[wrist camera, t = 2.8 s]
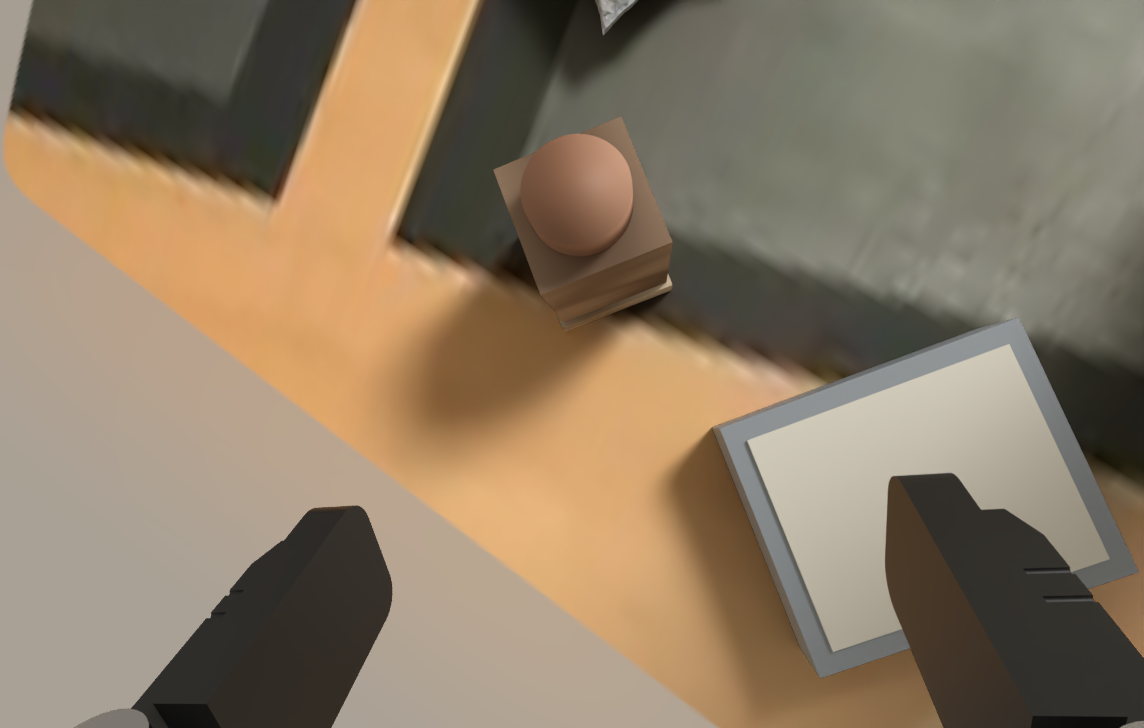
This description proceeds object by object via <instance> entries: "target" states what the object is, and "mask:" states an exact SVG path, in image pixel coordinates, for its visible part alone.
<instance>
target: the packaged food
mask: <svg viewBox="0 0 1144 728" xmlns="http://www.w3.org/2000/svg"><path fill="white" fill-rule="evenodd" d="M637 1H638V0H595V2H596V4H597V6H598V11H599V14H600V17H601V27H602V32H603V35H604V34H605V33H606V32H608V31H609V29H610V28H611V27H612V25H613V24H614V23H615V22H616V21H617V20H618V19H619V18H620V17H621V16H622V15H623V14H624V13H625V12H626V11H628V10H629V9H630V8H631V7H632V6H633V5H634V4H635V3H636V2H637Z"/></svg>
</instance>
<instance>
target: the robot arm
mask: <svg viewBox="0 0 1144 728" xmlns="http://www.w3.org/2000/svg"><path fill="white" fill-rule="evenodd" d="M885 572H886V580H887V586H888V591H889V595H890V598H891V602H892V605H893V608H894V610H895V613H896V615H897V618H898V620H899V622H900V625H901V627H902V629H903V632H904V634H905V637H906V639H907V641H908V644H909V646H910V649H911V651H912V653H913V656H914V658H915V660H916V663H917V665H918V668H919V670H920V672H921V675H922V677H923V680H924V682H925V684H926V687H927V689H928V691H929V694H930V696H931V699H932V701H933V703H934V706H935V708H936V710H937V713H938V715H939V718H940V720H941V722H942V725H943V727H944V728H1144V658H1143V657H1142V656H1141V654H1140V653H1139V652H1138V651H1137V649H1136V648H1135V647H1134V646H1133V644H1132V643H1131V642H1130V641H1129V639H1128V638H1127V637H1126V636H1125V634H1124V633H1123V632H1122V631H1121V630H1120V628H1119V627H1118V626H1117V625H1116V623H1115V622H1114V621H1113V620H1112V618H1111V617H1110V616H1109V615H1108V613H1107V612H1106V611H1105V610H1104V608H1103V607H1102V606H1101V605H1100V603H1099V602H1096V603H1095V602H1094V600H1093V595H1092V594H1091V592H1090V591H1089V590H1088V589H1087V587H1086V586H1085V585H1084V584H1083V582H1082V581H1081V580H1080V579H1079V577H1078V576H1077V575H1076V574H1072V573H1071V571H1070V566H1069V565H1068V564H1067V563H1066V561H1065V560H1064V559H1063V558H1062V556H1061V555H1060V554H1059V553H1058V551H1057V550H1056V549H1055V548H1054V546H1053V545H1052V544H1051V543H1050V542H1049V540H1048V539H1047V538H1046V537H1045V535H1044V534H1042V533H1041V532H1039V531H1038V530H1036V529H1035V528H1033V527H1032V526H1030V525H1029V524H1027V523H1026V522H1024V521H1022V520H1021V519H1019V518H1018V517H1016V516H1015V515H1013V514H1012V513H1010V512H1009V511H1007V510H1006V509H987V510H981V509H980V508H979V506H978V505H977V503H976V502H975V500H974V499H973V498H972V496H971V495H970V493H969V492H968V491H967V489H966V488H965V486H964V485H963V484H962V482H961V481H960V479H959V478H958V477H957V476H956V475H955V474H953V473H938V474H920V475H903V476H892V477H891V479H890V481H889V485H888V498H887V522H886V546H885ZM391 602H392V582H391V577H390V574H389V571H388V569H387V566H386V563H385V561H384V558H383V555H382V553H381V550H380V547H379V544H378V542H377V539H376V536H375V534H374V531H373V528H372V526H371V523H370V521H369V518H368V515H367V513H366V512H365V510H364V509H363V508H361V507H360V506H340V507H323V508H314V509H311V510H309V511H308V512H307V513H306V514H305V515H304V516H303V518H302V519H301V520H300V522H299V523H298V524H297V525H296V526H295V528H294V529H293V530H292V531H291V533H290V534H289V535H288V536H287V538H286V539H285V540H284V541H281V542H280V543H278V544H277V545H276V546H274V547H273V548H272V549H271V550H269V551H268V552H267V553H265V554H264V555H263V556H261V557H260V558H259V559H258V560H256V561H255V562H254V563H252V564H251V566H250V567H249V568H248V569H247V570H246V571H245V573H244V574H243V575H242V576H241V577H240V579H239V580H238V581H237V582H236V584H235V585H234V586H233V587H232V588H231V590H230V594H229V596H225V597H224V598H223V599H222V600H221V602H220V603H219V604H218V605H217V606H216V607H215V609H214V610H213V611H212V612H211V618H207V619H205V621H204V622H203V623H202V624H201V625H200V627H199V628H198V629H197V630H196V631H195V633H194V634H193V635H192V636H191V637H190V639H189V640H188V641H187V642H186V643H185V645H184V646H183V647H182V648H181V649H180V651H179V652H178V653H177V654H176V655H175V657H174V658H173V659H172V660H171V661H170V663H169V664H168V665H167V666H166V667H165V669H164V670H163V671H162V672H161V674H160V675H159V676H158V677H157V678H156V679H155V681H154V682H153V683H152V684H151V685H150V687H149V688H148V689H147V690H146V691H145V693H144V694H143V695H142V696H141V698H140V699H139V700H138V701H137V702H136V703H135V705H134V706H133V707H132V708H131V709H118V710H113V711H110V712H107V713H103V714H100V715H98V716H95V717H93V718H91V719H89V720H87V721H85V722H83V723H81V724H79V725H77V726H76V727H74V728H331V727H332V725H333V723H334V721H335V719H336V717H337V715H338V713H339V711H340V709H341V707H342V706H343V704H344V702H345V700H346V698H347V696H348V694H349V691H350V690H351V688H352V686H353V684H354V682H355V680H356V678H357V676H358V674H359V672H360V670H361V668H362V666H363V664H364V662H365V660H366V658H367V656H368V654H369V652H370V650H371V648H372V646H373V644H374V642H375V640H376V638H377V636H378V634H379V632H380V631H381V629H382V627H383V624H384V622H385V621H386V618H387V616H388V614H389V611H390V607H391Z"/></svg>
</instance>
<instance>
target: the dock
mask: <svg viewBox="0 0 1144 728" xmlns="http://www.w3.org/2000/svg"><path fill="white" fill-rule="evenodd" d="M712 429H713V431H714V434H715V436H716V439H717V441H718V444H719V446H720V449H721V451H722V454H723V456H724V459H725V461H726V464H727V466H728V469H729V471H730V474H731V476H732V479H733V481H734V484H735V486H736V489H737V491H738V494H739V496H740V499H741V501H742V504H743V506H744V509H745V511H746V514H747V516H748V519H749V521H750V524H751V526H752V529H753V531H754V534H755V536H756V539H757V541H758V544H759V546H760V549H761V551H762V554H763V556H764V559H765V561H766V564H767V566H768V569H769V571H770V574H771V576H772V579H773V581H774V584H775V586H776V589H777V591H778V594H779V596H780V599H781V601H782V604H783V606H784V609H785V611H786V614H787V616H788V619H789V621H790V624H791V626H792V629H793V631H794V634H795V636H796V639H797V641H798V644H799V646H800V649H801V650H802V652H803V653H804V655H805V656H806V658H807V659H808V661H809V663H810V664H811V666H812V667H813V669H814V670H815V672H816V673H817V675H818V676H819V678H823V677H826V676H829V675H832V674H835V673H838V672H841V671H844V670H847V669H850V668H853V667H856V666H859V665H862V664H865V663H868V662H871V661H874V660H877V659H880V658H883V657H886V656H889V655H892V654H895V653H898V652H901V651H904V650H907V649H910V646H909V644H908V641H907V639H906V637H905V634H904V632H903V629H902V627H901V625H900V622H899V620H898V618H897V615H896V613H895V610H894V608H893V605H892V602H891V598H890V595H889V591H888V586H887V580H886V572H885V546H886V522H887V498H888V485H889V481H890V479H891V477H892V476H903V475H920V474H938V473H953V474H955V475H956V476H957V477H958V478H959V479H960V481H961V482H962V484H963V485H964V486H965V488H966V489H967V491H968V492H969V493H970V495H971V496H972V498H973V499H974V500H975V502H976V503H977V505H978V506H979V508H980V509H981V510H987V509H1006V510H1007V511H1009V512H1010V513H1012V514H1013V515H1015V516H1016V517H1018V518H1019V519H1021V520H1022V521H1024V522H1026V523H1027V524H1029V525H1030V526H1032V527H1033V528H1035V529H1036V530H1038V531H1039V532H1041V533H1042V534H1044V535H1045V537H1046V538H1047V539H1048V540H1049V542H1050V543H1051V544H1052V545H1053V546H1054V548H1055V549H1056V550H1057V551H1058V553H1059V554H1060V555H1061V556H1062V558H1063V559H1064V560H1065V561H1066V563H1067V564H1068V565H1069V566H1070V571H1071V573H1072V574H1076V575H1077V576H1078V577H1079V579H1080V580H1081V581H1082V582H1083V584H1084V585H1085V586H1086V587H1087V589H1090V588H1093V587H1096V586H1099V585H1102V584H1105V583H1108V582H1111V581H1114V580H1117V579H1120V578H1123V577H1126V576H1129V575H1132V574H1135V573H1138V572H1139V571H1138V569H1137V567H1136V564H1135V562H1134V560H1133V558H1132V556H1131V554H1130V552H1129V550H1128V548H1127V545H1126V543H1125V541H1124V539H1123V537H1122V535H1121V533H1120V531H1119V528H1118V526H1117V524H1116V522H1115V520H1114V518H1113V516H1112V514H1111V512H1110V509H1109V507H1108V505H1107V503H1106V501H1105V499H1104V497H1103V495H1102V493H1101V490H1100V488H1099V486H1098V484H1097V482H1096V480H1095V478H1094V476H1093V473H1092V471H1091V469H1090V467H1089V465H1088V463H1087V461H1086V459H1085V457H1084V454H1083V452H1082V450H1081V448H1080V446H1079V444H1078V442H1077V440H1076V438H1075V435H1074V433H1073V431H1072V429H1071V427H1070V425H1069V423H1068V421H1067V418H1066V416H1065V414H1064V412H1063V410H1062V408H1061V406H1060V404H1059V402H1058V399H1057V397H1056V395H1055V393H1054V391H1053V389H1052V387H1051V385H1050V383H1049V380H1048V378H1047V376H1046V374H1045V372H1044V370H1043V368H1042V366H1041V363H1040V361H1039V359H1038V357H1037V355H1036V353H1035V351H1034V349H1033V347H1032V344H1031V342H1030V340H1029V338H1028V336H1027V334H1026V332H1025V330H1024V328H1023V325H1022V323H1021V321H1020V319H1019V318H1015V319H1011V320H1008V321H1004V322H1000V323H996V324H993V325H989V326H985V327H981V328H978V329H975V330H972V331H970V332H967V333H964V334H961V335H959V336H956V337H953V338H951V339H948V340H945V341H943V342H940V343H937V344H935V345H932V346H929V347H926V348H924V349H921V350H918V351H916V352H913V353H910V354H908V355H905V356H902V357H900V358H897V359H894V360H892V361H889V362H886V363H883V364H881V365H878V366H875V367H873V368H870V369H867V370H865V371H862V372H859V373H857V374H854V375H851V376H848V377H846V378H843V379H840V380H838V381H835V382H832V383H830V384H827V385H824V386H822V387H819V388H816V389H814V390H811V391H808V392H805V393H803V394H800V395H797V396H795V397H792V398H789V399H787V400H784V401H781V402H779V403H776V404H773V405H770V406H768V407H765V408H762V409H760V410H757V411H754V412H752V413H749V414H746V415H744V416H741V417H738V418H736V419H733V420H730V421H727V422H725V423H722V424H719V425H717V426H714V427H712Z"/></svg>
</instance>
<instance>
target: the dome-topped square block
mask: <svg viewBox="0 0 1144 728" xmlns="http://www.w3.org/2000/svg"><path fill="white" fill-rule="evenodd" d="M494 173H495V175H496V178H497V181H498V183H499V186H500V189H501V191H502V194H503V197H504V199H505V202H506V205H507V207H508V210H509V213H510V215H511V218H512V221H513V223H514V226H515V229H516V231H517V234H518V237H519V239H520V242H521V245H522V247H523V250H524V253H525V255H526V258H527V261H528V263H529V266H530V269H531V271H532V274H533V277H534V279H535V282H536V285H537V287H538V290H539V293H540V295H541V296H542V297H543V299H544V300H545V301H546V302H547V303H548V304H549V305H550V307H551V308H552V309H553V310H554V311H555V312H556V314H557V317H558V319H559V322H560V325H561V327H562V329H563V330H564V331H565V332H566V331H569V330H571V329H574V328H577V327H579V326H582V325H584V324H587V323H589V322H592V321H594V320H597V319H600V318H602V317H605V316H607V315H610V314H612V313H615V312H617V311H620V310H622V309H625V308H628V307H630V306H633V305H635V304H638V303H640V302H643V301H645V300H648V299H651V298H653V297H656V296H658V295H661V294H663V293H666V292H668V291H671V290H672V283H671V280H670V278H669V275H668V269H669V262H670V255H671V249H672V240H671V237H670V235H669V233H668V230H667V228H666V225H665V223H664V220H663V218H662V215H661V213H660V210H659V208H658V205H657V203H656V201H655V198H654V196H653V193H652V191H651V188H650V186H649V183H648V181H647V178H646V176H645V174H644V171H643V169H642V166H641V164H640V161H639V159H638V156H637V154H636V151H635V149H634V147H633V144H632V142H631V139H630V137H629V134H628V132H627V129H626V127H625V124H624V122H623V120H622V117H618V118H616V119H614V120H611V121H609V122H606V123H604V124H602V125H599V126H597V127H594V128H592V129H590V130H587V131H585V132H582V133H580V134H570V135H565V136H562V137H559V138H556V139H554V140H552V141H550V142H548V143H547V144H545V145H544V146H543V147H541V148H540V149H539V150H538V151H537V152H535V153H532V154H530V155H528V156H525V157H523V158H520V159H518V160H516V161H513V162H511V163H508V164H506V165H504V166H501V167H499V168H497V169H494Z"/></svg>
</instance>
